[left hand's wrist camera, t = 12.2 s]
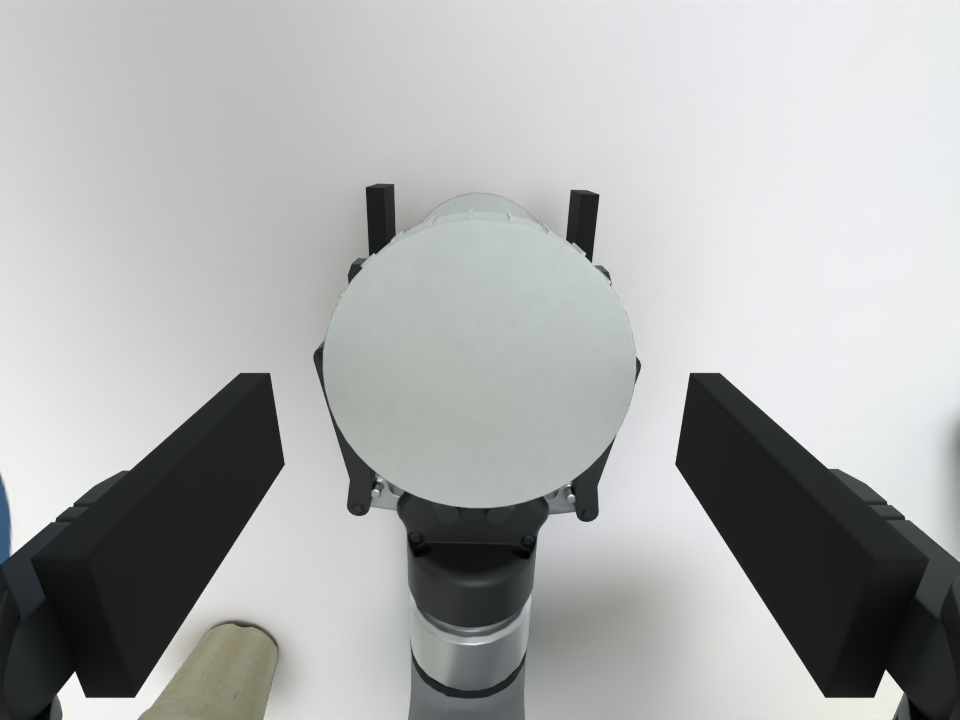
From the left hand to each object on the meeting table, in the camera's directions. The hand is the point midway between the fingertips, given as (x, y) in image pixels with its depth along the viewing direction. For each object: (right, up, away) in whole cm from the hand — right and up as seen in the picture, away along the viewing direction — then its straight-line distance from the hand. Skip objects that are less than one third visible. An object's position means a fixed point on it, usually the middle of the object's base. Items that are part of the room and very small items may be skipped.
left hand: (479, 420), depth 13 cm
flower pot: (-19, -22, +28) cm, 41 cm away
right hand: (0, +9, +9) cm, 13 cm away
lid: (0, +1, +2) cm, 2 cm away
